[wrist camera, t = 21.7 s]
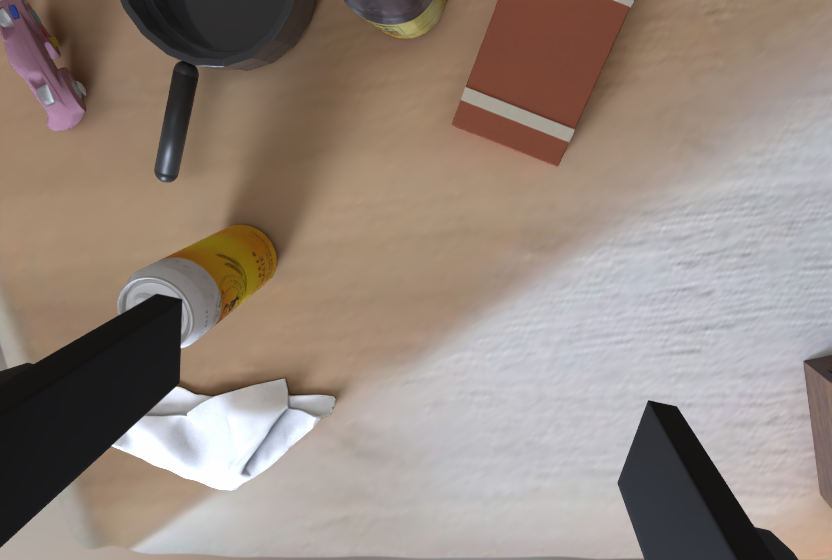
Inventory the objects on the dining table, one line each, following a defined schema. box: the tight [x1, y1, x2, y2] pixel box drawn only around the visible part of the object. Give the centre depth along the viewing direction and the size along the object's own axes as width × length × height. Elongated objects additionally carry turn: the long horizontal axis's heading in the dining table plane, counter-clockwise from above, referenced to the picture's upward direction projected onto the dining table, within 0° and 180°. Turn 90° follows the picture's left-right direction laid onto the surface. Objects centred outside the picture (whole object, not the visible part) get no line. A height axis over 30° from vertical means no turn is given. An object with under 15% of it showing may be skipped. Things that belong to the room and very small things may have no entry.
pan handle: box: [154, 61, 199, 182], centre depth 42 cm, size 10×2×2 cm, turn 160°
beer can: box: [118, 225, 277, 348], centre depth 42 cm, size 6×6×15 cm
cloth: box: [112, 379, 336, 490], centre depth 55 cm, size 26×14×2 cm, turn 91°
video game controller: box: [0, 0, 86, 131], centre depth 44 cm, size 10×5×7 cm, turn 23°
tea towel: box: [452, 0, 634, 166], centre depth 40 cm, size 9×15×2 cm, turn 160°
